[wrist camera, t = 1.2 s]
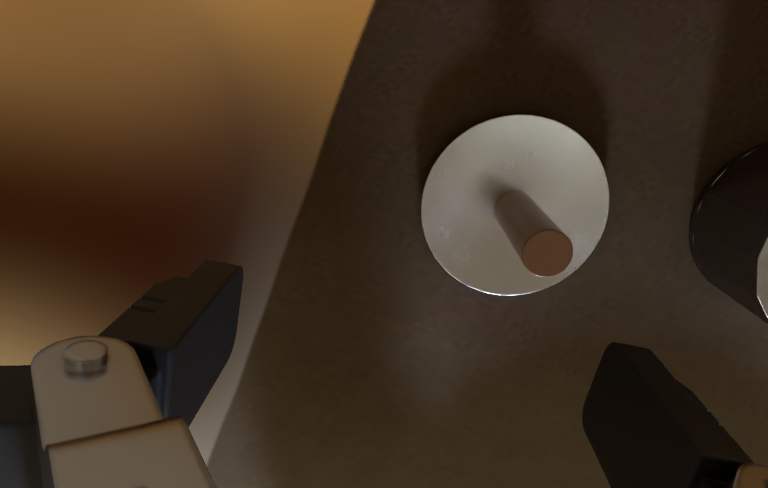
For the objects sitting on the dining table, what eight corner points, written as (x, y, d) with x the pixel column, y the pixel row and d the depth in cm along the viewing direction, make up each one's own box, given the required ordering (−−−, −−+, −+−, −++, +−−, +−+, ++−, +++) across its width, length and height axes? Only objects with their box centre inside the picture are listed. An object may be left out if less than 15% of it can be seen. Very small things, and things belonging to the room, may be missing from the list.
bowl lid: (405, 131, 33) (406, 156, 24) (597, 95, 32) (670, 108, 23) (435, 300, 36) (445, 376, 28) (608, 273, 35) (675, 342, 26)
